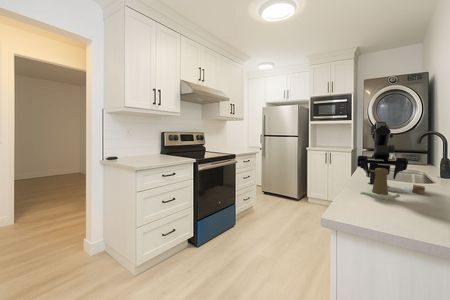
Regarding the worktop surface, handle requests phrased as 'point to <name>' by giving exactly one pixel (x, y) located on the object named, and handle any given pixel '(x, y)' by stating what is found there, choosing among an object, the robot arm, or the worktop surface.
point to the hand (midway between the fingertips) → (381, 177)
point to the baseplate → (381, 196)
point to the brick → (418, 189)
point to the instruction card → (400, 190)
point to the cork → (380, 181)
